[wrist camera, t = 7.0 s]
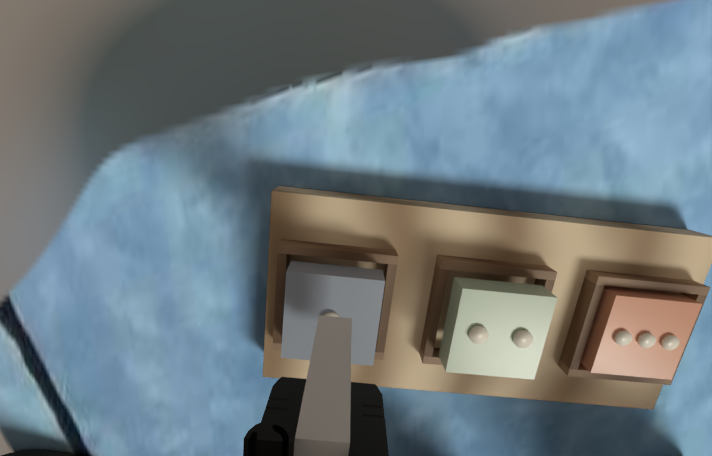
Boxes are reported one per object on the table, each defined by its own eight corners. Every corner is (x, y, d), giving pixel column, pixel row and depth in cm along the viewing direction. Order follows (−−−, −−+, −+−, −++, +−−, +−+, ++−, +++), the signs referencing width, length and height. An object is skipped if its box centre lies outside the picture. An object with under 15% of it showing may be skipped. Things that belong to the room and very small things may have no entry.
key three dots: (574, 356, 22) (592, 374, 20) (597, 284, 20) (619, 297, 19) (650, 363, 22) (674, 381, 20) (677, 292, 20) (706, 305, 19)
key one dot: (286, 341, 20) (280, 360, 18) (291, 260, 18) (285, 272, 17) (371, 349, 20) (373, 368, 18) (382, 269, 19) (385, 282, 17)
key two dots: (438, 355, 20) (446, 374, 18) (454, 276, 19) (463, 290, 17) (521, 362, 20) (536, 382, 19) (541, 285, 19) (559, 299, 17)
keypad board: (270, 357, 24) (258, 387, 21) (279, 185, 21) (267, 193, 18) (629, 388, 25) (666, 421, 22) (688, 229, 22) (740, 243, 19)
